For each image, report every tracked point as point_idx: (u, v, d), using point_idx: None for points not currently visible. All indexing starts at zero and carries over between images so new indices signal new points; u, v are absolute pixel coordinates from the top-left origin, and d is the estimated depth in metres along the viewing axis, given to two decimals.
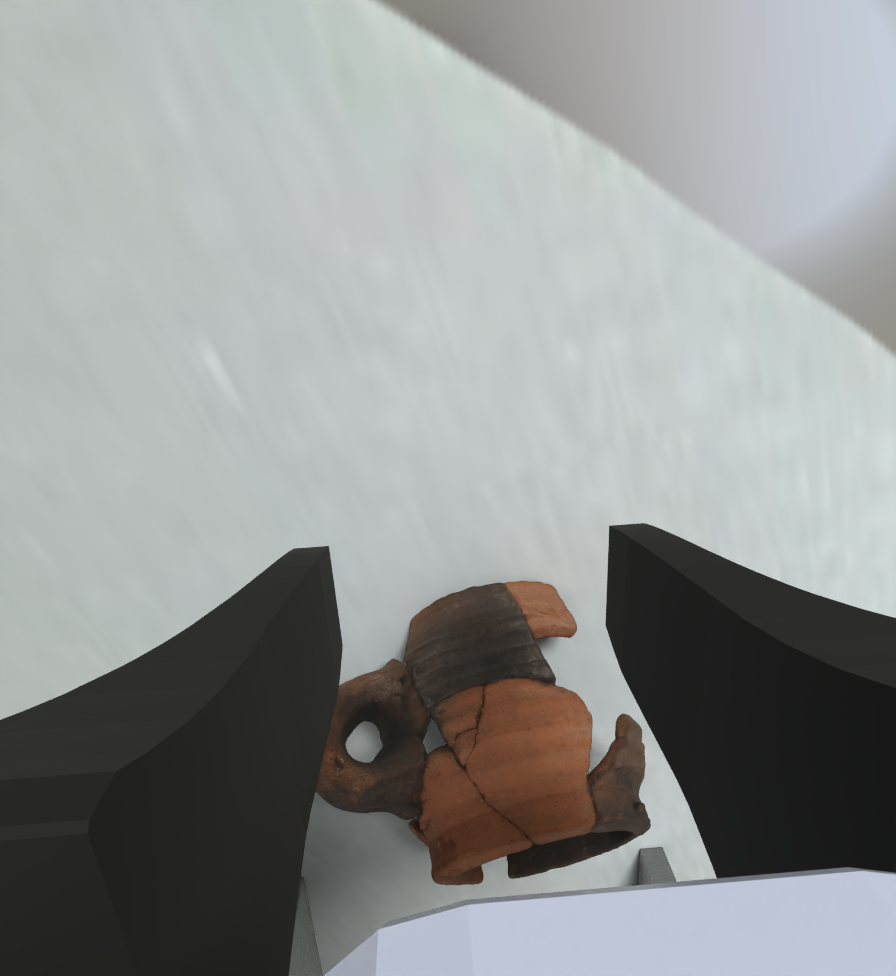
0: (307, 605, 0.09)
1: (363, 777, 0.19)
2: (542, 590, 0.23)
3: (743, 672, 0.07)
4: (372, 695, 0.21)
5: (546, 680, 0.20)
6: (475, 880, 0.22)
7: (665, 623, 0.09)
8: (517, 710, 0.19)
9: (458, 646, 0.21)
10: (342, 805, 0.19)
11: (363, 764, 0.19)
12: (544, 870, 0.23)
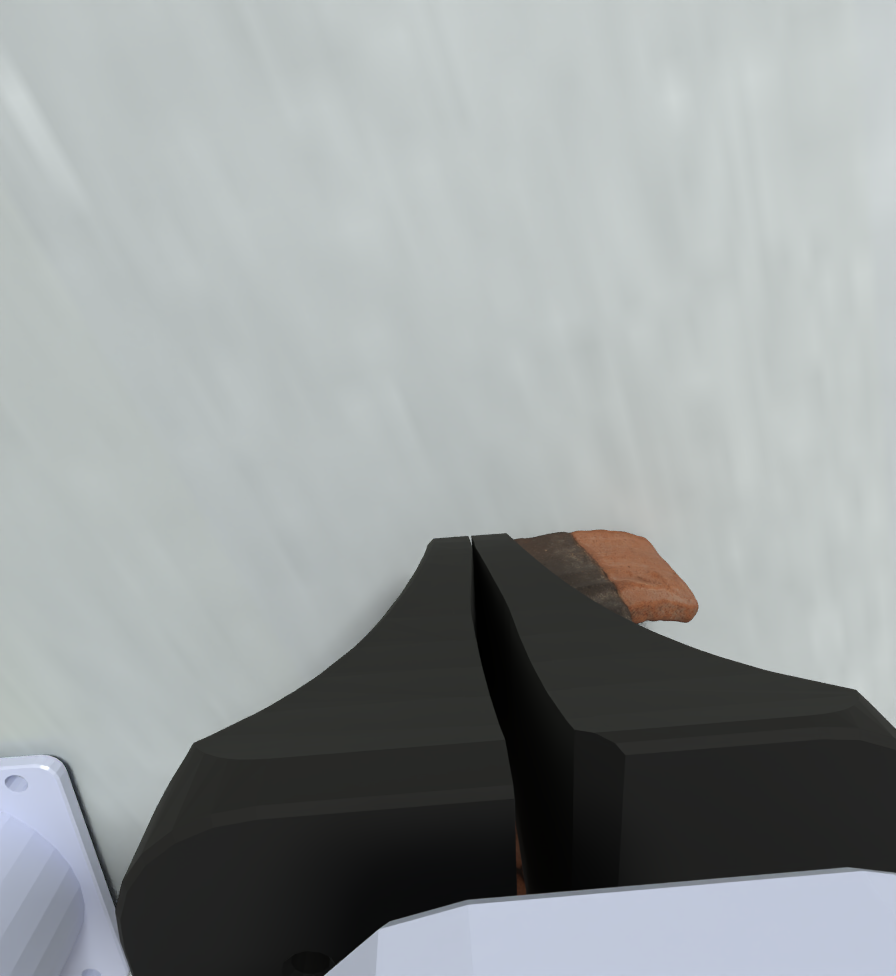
0: (472, 593, 0.09)
1: None
2: (633, 545, 0.14)
3: (522, 690, 0.07)
4: None
5: None
6: None
7: (495, 636, 0.09)
8: None
9: None
10: None
11: None
12: None
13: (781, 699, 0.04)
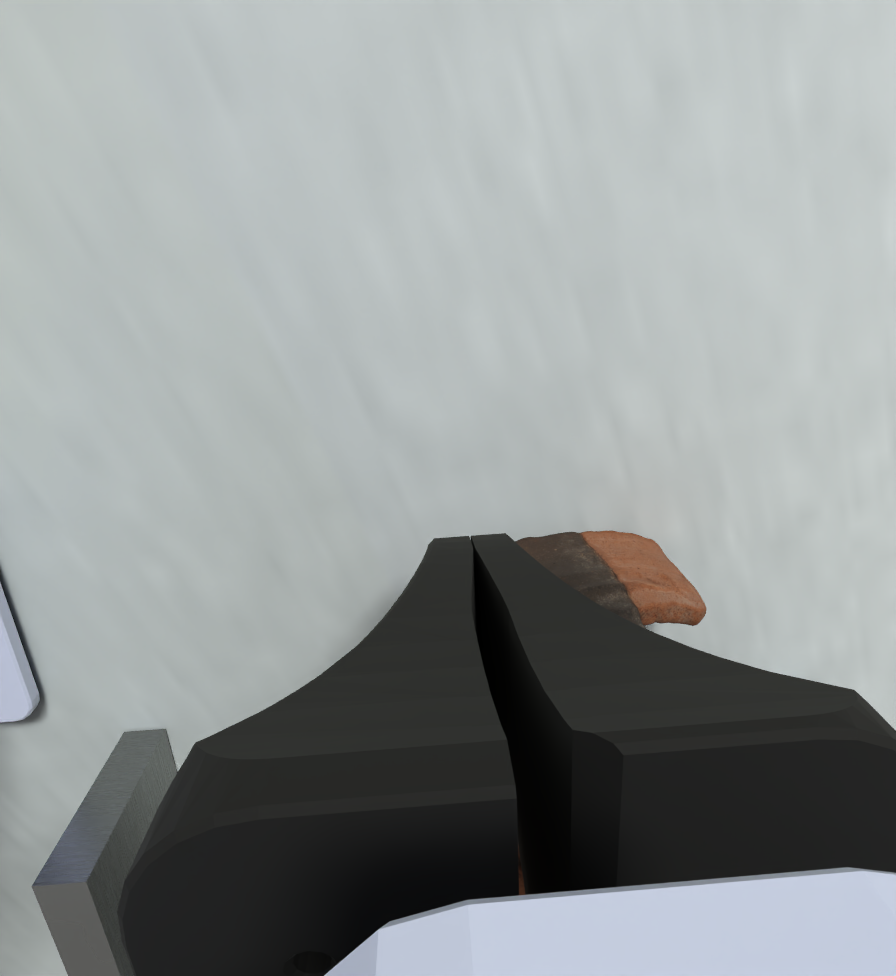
0: (473, 592, 0.09)
1: None
2: (642, 547, 0.14)
3: (521, 690, 0.07)
4: None
5: None
6: None
7: (494, 636, 0.09)
8: None
9: None
10: None
11: None
12: None
13: (780, 699, 0.04)
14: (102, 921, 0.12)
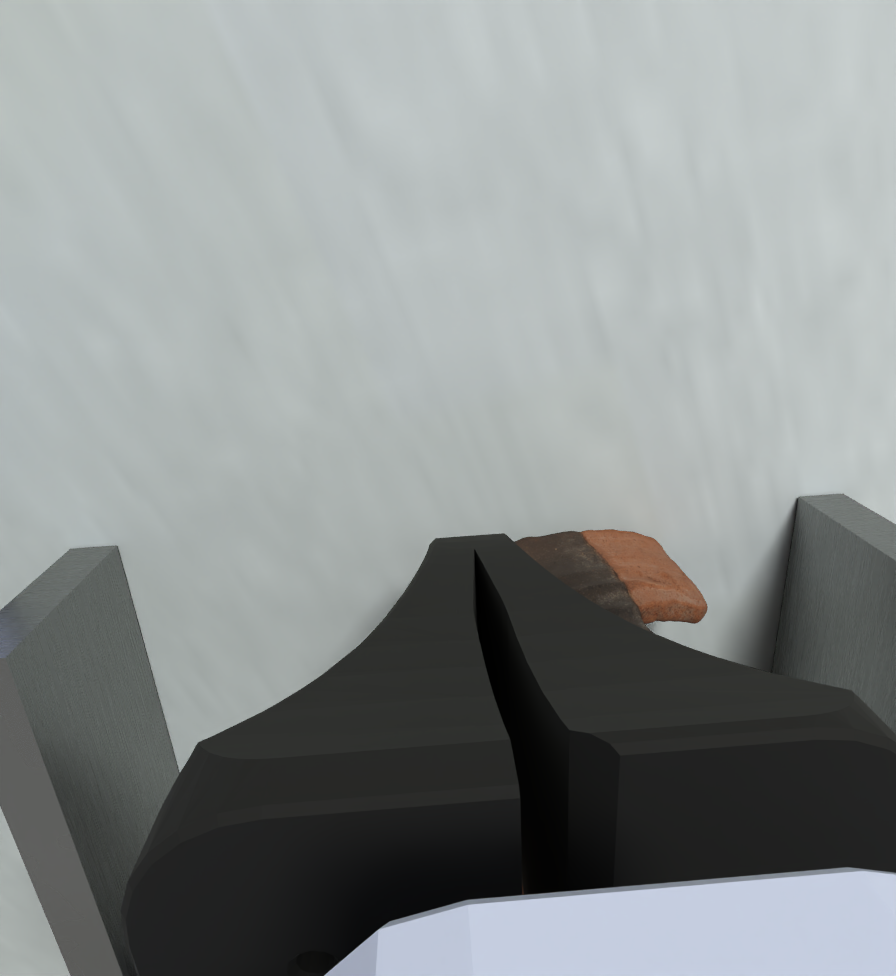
0: None
1: None
2: (642, 545, 0.14)
3: (519, 690, 0.07)
4: None
5: None
6: None
7: (493, 636, 0.09)
8: None
9: None
10: None
11: None
12: None
13: (777, 699, 0.04)
14: (28, 714, 0.10)
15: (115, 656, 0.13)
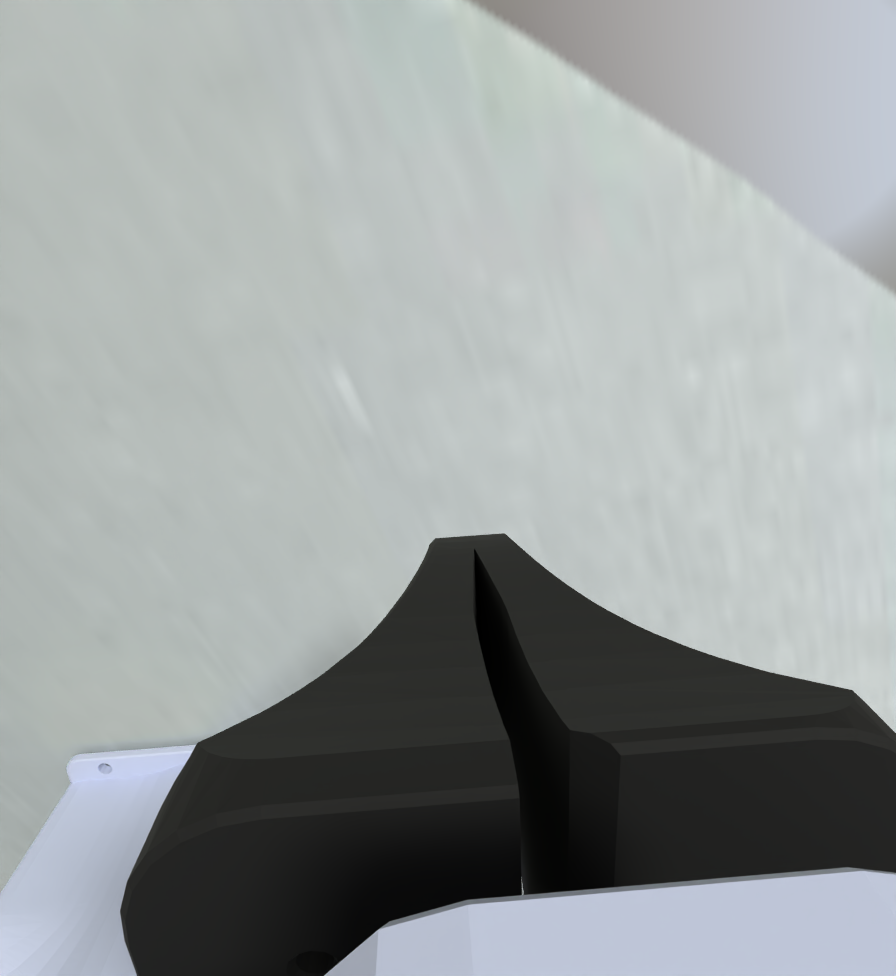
0: (474, 593, 0.09)
1: None
2: None
3: (519, 690, 0.07)
4: None
5: None
6: None
7: (493, 636, 0.09)
8: None
9: None
10: None
11: None
12: None
13: (778, 700, 0.04)
14: None
15: None
